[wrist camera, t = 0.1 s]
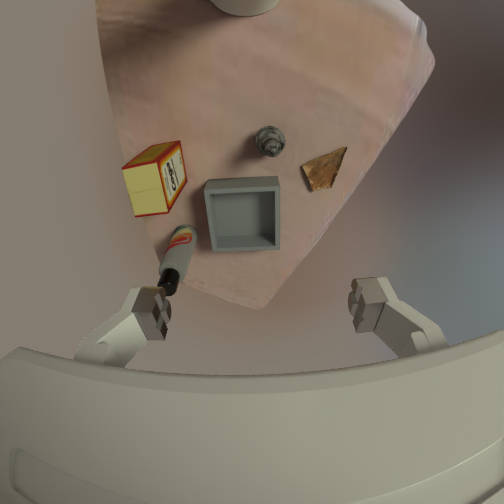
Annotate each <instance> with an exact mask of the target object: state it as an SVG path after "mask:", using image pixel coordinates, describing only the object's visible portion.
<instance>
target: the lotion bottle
mask: <svg viewBox="0 0 504 504" xmlns="http://www.w3.org/2000/svg"><path fill="white" fill-rule="evenodd" d="M196 239H197V233H196V231H195V229H194V228H193V227H191V226H189V225H181V226H179V227H178V228H177V229H176V230H175V232H174V234H173V237H172V239H171V241H170V243H169V246H168V248H167V250H166V252H165V255H164V257H163V259H162V262H161V264H160V267H159V274H160V276H161V277H160V280H159V282H158V285H157V286H158V287H163V288H165V291H166V293H167V294H166V296H172V295H173V294H174V293H175V292H176V290H177V286H178V283H180V282H182V281H183V280H184V278H185V276H186V273H187V269H188V266H189V263H190V259H191V256H192V253H193V249H194V246H195V243H196Z"/></svg>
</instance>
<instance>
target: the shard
mask: <svg viewBox="0 0 504 504" xmlns="http://www.w3.org/2000/svg"><path fill="white" fill-rule="evenodd" d="M346 150H347V147H342V148H340V149H338V150H336V151H335V152H333V153H331V154H327V155H325V156H323V157H320V158H318V159H315V160H312V161H310V162H309V163H306V164H304V165H302V167H303V169H304V171H305V174H306V176H307V178H308V180H309V182H310V185H311V188H312V190H313V191H317V190H319V189H322V188H326V187H330V188H332V185H333V183H334V181H335V177H336V176H337V173H338V171H339V169H340V166H341V163H342V160H343V157H344V154H345V152H346Z"/></svg>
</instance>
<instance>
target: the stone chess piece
mask: <svg viewBox="0 0 504 504" xmlns="http://www.w3.org/2000/svg"><path fill="white" fill-rule="evenodd" d="M255 144H256V147H257V149H258V150H259V151H260V152H261V153H262V154H264V155H267V156H269V157H276V156H278V155H279V154H280V153H281V151H282V150H283V149H284V147H285V144H286V140H285V136H284V134H283V133H282V132H281V131H280V130H279V129H277V128H276V127H273V126H266V127H263V128H261V129H260V130H259V132H258V133H257V136H256V139H255Z"/></svg>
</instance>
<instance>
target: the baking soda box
mask: <svg viewBox="0 0 504 504" xmlns="http://www.w3.org/2000/svg"><path fill="white" fill-rule="evenodd" d="M122 172H123V176H124V179H125V183H126V187H127V191H128V194H129V198H130V201H131V205H132V208H133V212H134V215H135V217H143V216H151V215H159V214H168V213H169V212H170V210H171V208H172V206H173V205H174V203H175V201H176V199H177V198H178V196H179V194H180V193H181V191H182V189H183V188H184V186H185V184H186V183H187V176H186V171H185V166H184V160H183V154H182V149H181V143H180V140H179V141H173V142H167V143H162V144H156V145H152V146H150V147H149V148H147V149H146V150H145V151H143V152H142V153H141V154H139V155H138V156H136V157H135V158H134V159H132V160H131V161H130V162H129V163H127V164H126V165H125V166H123V167H122Z"/></svg>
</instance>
